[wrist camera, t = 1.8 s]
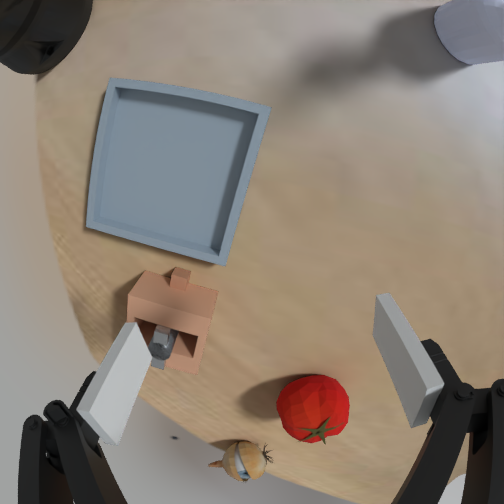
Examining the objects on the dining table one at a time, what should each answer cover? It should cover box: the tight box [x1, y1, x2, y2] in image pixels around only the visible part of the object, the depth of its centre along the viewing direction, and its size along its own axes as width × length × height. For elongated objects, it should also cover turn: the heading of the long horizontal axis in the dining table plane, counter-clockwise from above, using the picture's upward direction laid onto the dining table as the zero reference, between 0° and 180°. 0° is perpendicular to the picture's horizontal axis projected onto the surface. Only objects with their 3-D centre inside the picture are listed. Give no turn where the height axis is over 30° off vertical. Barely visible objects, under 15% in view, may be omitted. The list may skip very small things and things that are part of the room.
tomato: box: [276, 375, 350, 444], centre depth 40 cm, size 11×13×10 cm
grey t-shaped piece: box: [148, 325, 179, 370], centre depth 36 cm, size 3×6×8 cm, turn 164°
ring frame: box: [127, 267, 218, 375], centre depth 36 cm, size 10×12×6 cm
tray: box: [86, 78, 272, 266], centre depth 31 cm, size 18×18×2 cm
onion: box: [209, 441, 272, 481], centre depth 50 cm, size 9×9×15 cm
